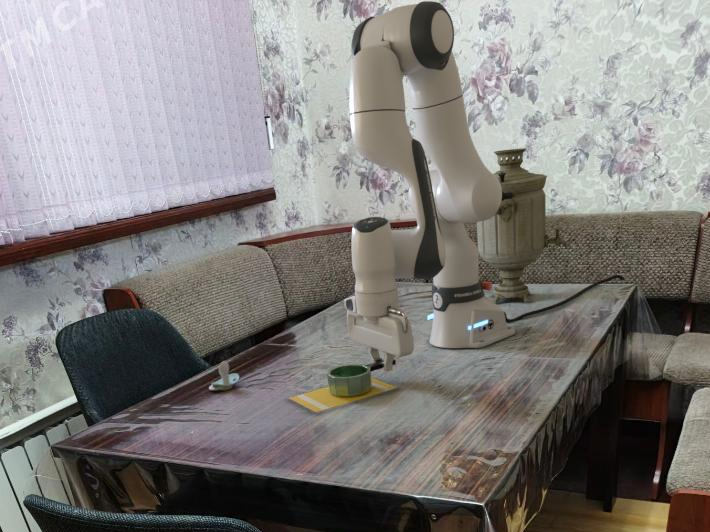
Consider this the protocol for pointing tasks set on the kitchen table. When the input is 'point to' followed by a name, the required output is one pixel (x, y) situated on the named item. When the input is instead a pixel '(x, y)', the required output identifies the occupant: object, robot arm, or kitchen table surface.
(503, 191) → the samovar
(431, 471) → the kitchen table surface
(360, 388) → the green saucepan
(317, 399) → the towel
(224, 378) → the pacifier
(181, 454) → the kitchen table surface
